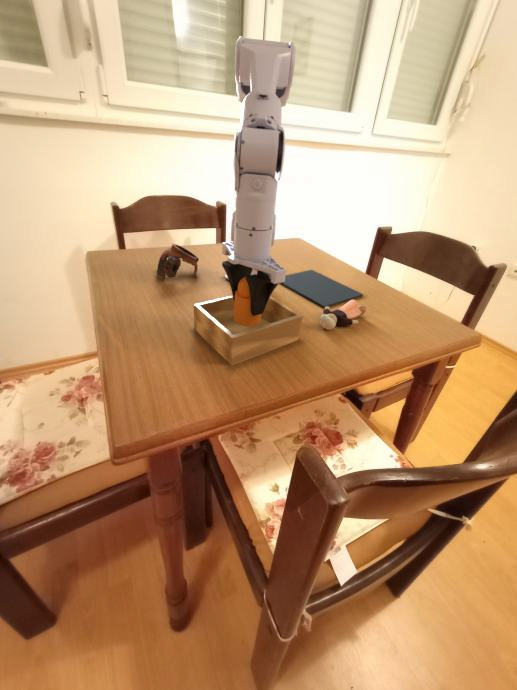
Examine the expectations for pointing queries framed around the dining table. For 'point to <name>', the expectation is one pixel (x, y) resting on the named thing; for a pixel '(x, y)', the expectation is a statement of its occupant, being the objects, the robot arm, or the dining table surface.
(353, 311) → the grandmother figurine
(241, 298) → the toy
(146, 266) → the dining table surface
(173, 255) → the brown piece
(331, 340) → the dining table surface
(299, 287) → the mat
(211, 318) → the wooden box
